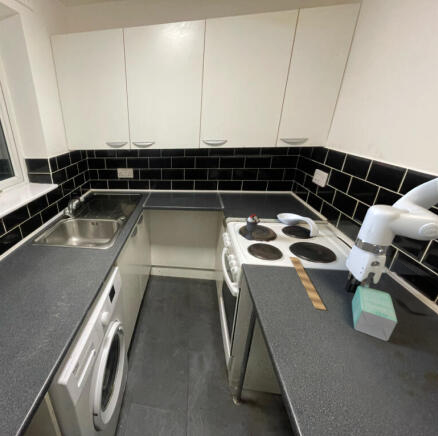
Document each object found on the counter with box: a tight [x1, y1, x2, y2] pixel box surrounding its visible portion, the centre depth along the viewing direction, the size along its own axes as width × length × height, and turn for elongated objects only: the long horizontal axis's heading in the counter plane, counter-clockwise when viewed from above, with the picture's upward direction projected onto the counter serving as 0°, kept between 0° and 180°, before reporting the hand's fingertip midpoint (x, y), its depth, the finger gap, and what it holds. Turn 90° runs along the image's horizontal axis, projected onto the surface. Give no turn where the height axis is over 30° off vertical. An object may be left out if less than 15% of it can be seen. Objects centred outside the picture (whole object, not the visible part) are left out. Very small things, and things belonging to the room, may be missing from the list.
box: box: [351, 286, 398, 342], centre depth 68 cm, size 7×14×8 cm, turn 143°
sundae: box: [244, 211, 261, 241], centre depth 114 cm, size 7×7×15 cm
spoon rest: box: [276, 212, 320, 238], centre depth 125 cm, size 24×12×7 cm, turn 13°
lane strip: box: [289, 256, 327, 311], centre depth 87 cm, size 30×3×1 cm, turn 164°
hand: (350, 291), depth 78 cm, fingers closed
